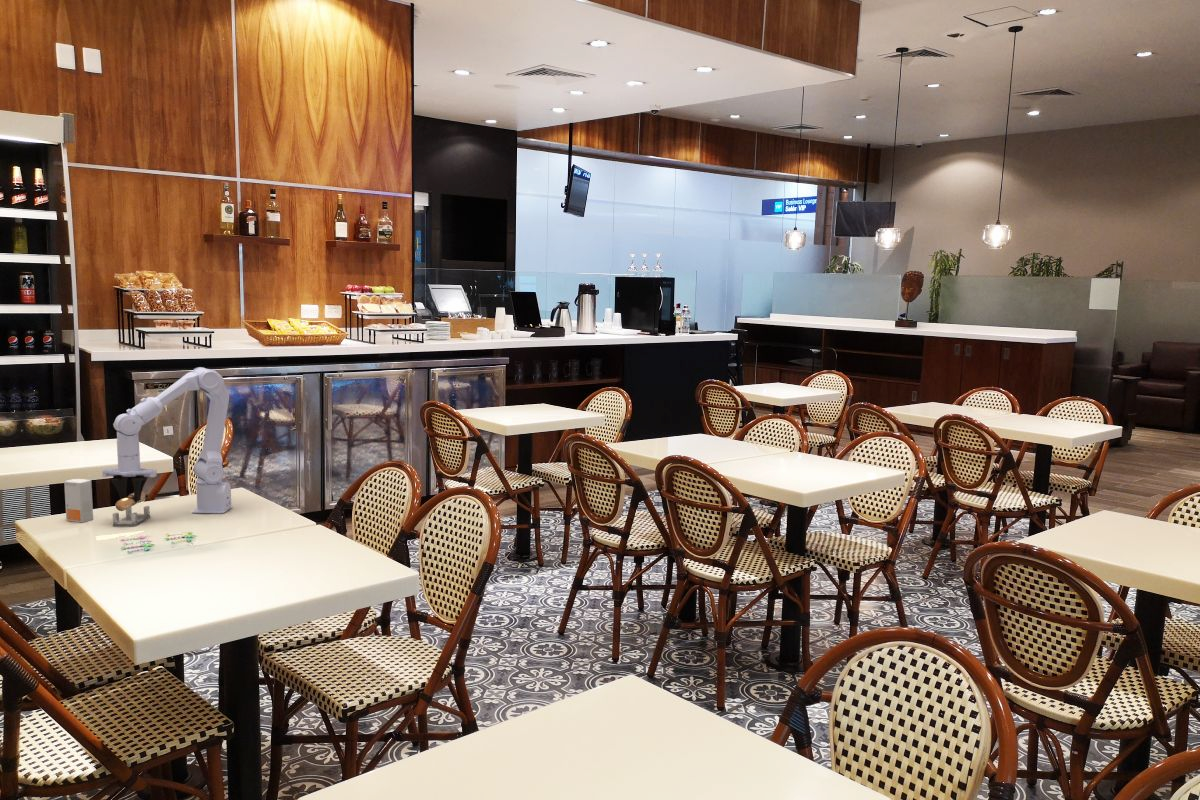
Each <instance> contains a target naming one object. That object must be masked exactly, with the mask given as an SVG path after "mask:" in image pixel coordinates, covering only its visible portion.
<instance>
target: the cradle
mask: <svg viewBox="0 0 1200 800" xmlns="http://www.w3.org/2000/svg"><path fill="white" fill-rule="evenodd" d="M132 508H133V506H131V507H129V508H128V509H126V510H125V517H123V518H121V519H120V513H119V512H113V513H112V527H137V526H138V525H140V524H141V523H143V522H145V521H147V520H148V519H150V518H151V515H150V514H151V512H150V511H151V510H150V505H145V506H144V507H143V513H138V512H133V510H132ZM146 519H147V520H146Z"/></svg>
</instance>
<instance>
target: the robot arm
mask: <svg viewBox="0 0 1200 800" xmlns="http://www.w3.org/2000/svg"><path fill="white" fill-rule="evenodd" d="M199 390H200V391H202V392H203V393H204V394H205V395H206V396H207V397H208V398H209V401H210V402H209V408H208V414H207V421H206V424H205V425H206V426H205V432H204V438H203V444H202V450H200V453H199V454H198V458H197V459H196V460H197V461H196V462H195V463H194V465H193V468H192V469H193V473H194V475H195V477H197V479H196V481H195V482H196V484H195V486H196V508H195V509H194V510H193V511H192V514H225V513H226V512H227V511H229V510H230V509H232V508H233V505H232V487H231V484H230V482H225V481H223V480H222V479H223V477H224V474H225V470H224V467H223V460H224V459H223V456H222V453H221V452H222V446H223V440H224V433H225V426H226V421H227V414H228V409H229V402H230V401H229V400H230V394H229V391H228V388H227V387H226V384H225V379H224V377H223V376H222V375H221V374H220V373H219V372H218V371H216V370H214V369H209V368H205V367H203V366H202V367H201V366H199V367H195V368H193V370H191V371H189V372H187V373H186V374H184V375H182V377H181V378H179V379H178V380H176V381H175V382H174V383H173V384H171V385H170V386H169V387H168V388H166V389H165V390H164V391H163V390H162V392H160V394H158V395H157V396H156V397H153V396H147V398H146V397H143V398H141V399H140V402H139V403H138V404H136V405H135V406H134V407H132V408H128V409H126V413H122V414H121V413H120V414H119V415H117V416H116V418H115V420H114V422H113V423H112V425H113V428H114V430H116V447H117V448H116V452H117V468H105V469H102V470H101V473H102V478H107V477H112V478H111V480H110V481H111V483H112V484H113V485H114V487H115V489H116V491H117V493H118V496H119V500H121V499H123V498H125V497H126V496H128V489H127V488H128V487H127V486H128V485H127V484H128V477H130V478H131V477H133V478H131V484H132V486H133V493H134V500H135V502H138V501H140V498H141V493H142V491H143V490H144V487H145V484H146V482H147V480H148V479H149V478H155V477H157V475H158V474H157V469H153V468H152V469H151V468H150V469H149V468H141V460H140V459H141V454H140V439H139V438H140V437H139V432H140V431H141V429H142V426H144V425H146V424H147V423H149V422H150V421H152V420H153V419H154V418H156V417H157V416H159V415H161V414H162V412H163V409H164V406H166V405H167V404H169V403H170V402H171V401H173V400H175V399H176V398H178V397H180V396H181V395H183V394H184V393H186V392H189V391H190V392H191V391H199Z"/></svg>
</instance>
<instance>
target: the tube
mask: <svg viewBox="0 0 1200 800" xmlns="http://www.w3.org/2000/svg"><path fill="white" fill-rule="evenodd" d="M144 500H146V493H145V492H144V491H143V490H142V493H141V498H140V501H138V502H135V500H134V492H133V493H130V494H127V496H126V497H125V498H123V499H119V500H117V501H116V502H115V504H114V505H115V509H116V510H117V511H119V512H124V511H126V509H128V508H129V507H131V506H132V507H133V506H135V505H137V504H139V503H141V502H143V501H144Z"/></svg>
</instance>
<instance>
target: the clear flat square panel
mask: <svg viewBox="0 0 1200 800" xmlns="http://www.w3.org/2000/svg"><path fill="white" fill-rule="evenodd" d="M144 531H145V530H139V531H138V530H137V531H130V532H129V531H127V532H121V533H113V534H111V533H110V534H103V535H95V540H96V541H104V540H110V539H117V538H116V537H118V538H121V537H119V536H125V535H126V536H125V537H124V538H122V539H120V541H121V542H122V541H129V540H139V539H140V541H139V542H137V544H140V545H134V544H133V543H134V542H129V543H127V542H123V546H121V547H119V548H120V549H121V550H122V551H123V550H126V549H129V550H128V551H127V553H128V554H131V553H134V552H139V551H145V552H147V550H148V551H150V550H151V551H152V548H154V544H153V543H152V542H151V540H149V539H148V538H147V537H152V536H149V535H147V534H146V535H147V536H146V535H145V536H144V535H139V536H137V537H136V538H135V537H132V538H126V537H131V536H130V535H134V534H138V533H141V532H144ZM189 532H190V534H188V535H187V534H185V535H182V536H174V537H170V536H168V535H169V533H166V537H165V538H163V539H164V540H167V541H169V540H175V541H171V542H170V544H175V543H180V542H186V541H187V542H189V543H190V542H191V541H195V538H194V537H195V536H194V534H193V533H195V532H193V531H189ZM184 533H188V531H185V532H184ZM134 536H135V535H134ZM180 537H181V538H182V537H185V539H181V538H180ZM187 537H188V538H187ZM189 537H191V538H189ZM125 538H126V539H125ZM146 538H147V539H146ZM175 538H177V539H180V540H176V539H175ZM143 539H146V540H143ZM168 539H169V540H168ZM147 541H148V543H145V542H147ZM141 542H142V543H141ZM125 544H126V545H125ZM190 544H192V545H193V544H194V543H193V542H191V543H190ZM127 545H131V546H127ZM142 546H143V547H142ZM147 546H149V547H147ZM138 547H140V548H138ZM151 547H152V548H151ZM134 548H138V549H134ZM130 549H134V550H130Z"/></svg>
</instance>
